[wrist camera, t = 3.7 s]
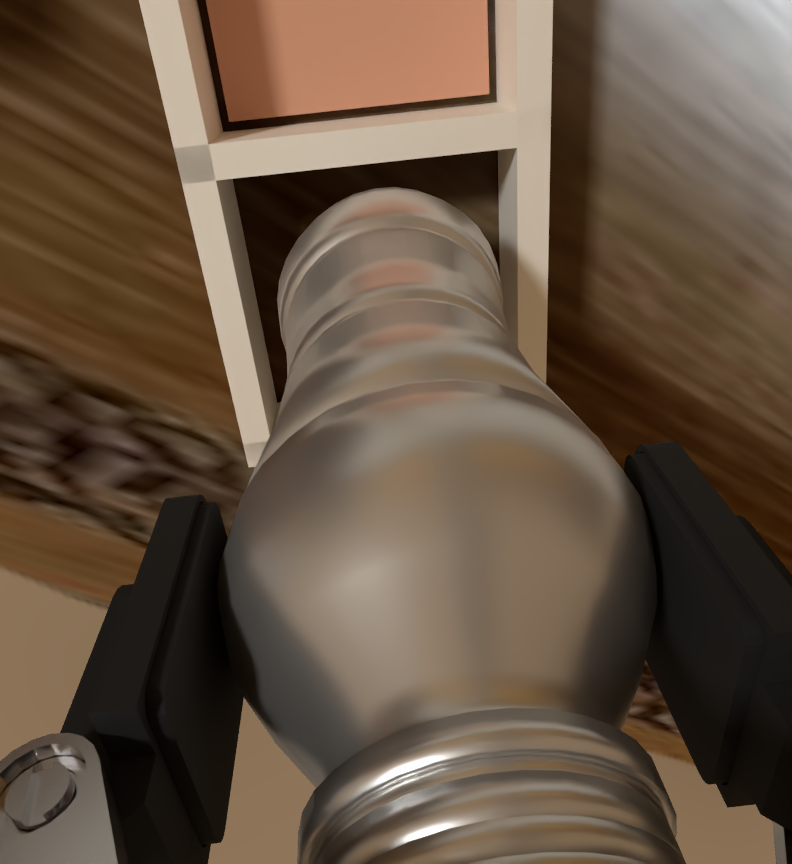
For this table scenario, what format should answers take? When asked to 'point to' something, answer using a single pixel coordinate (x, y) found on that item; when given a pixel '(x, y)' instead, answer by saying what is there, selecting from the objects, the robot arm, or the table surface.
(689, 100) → the table surface
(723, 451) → the table surface
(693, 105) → the table surface
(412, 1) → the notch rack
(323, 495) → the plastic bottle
